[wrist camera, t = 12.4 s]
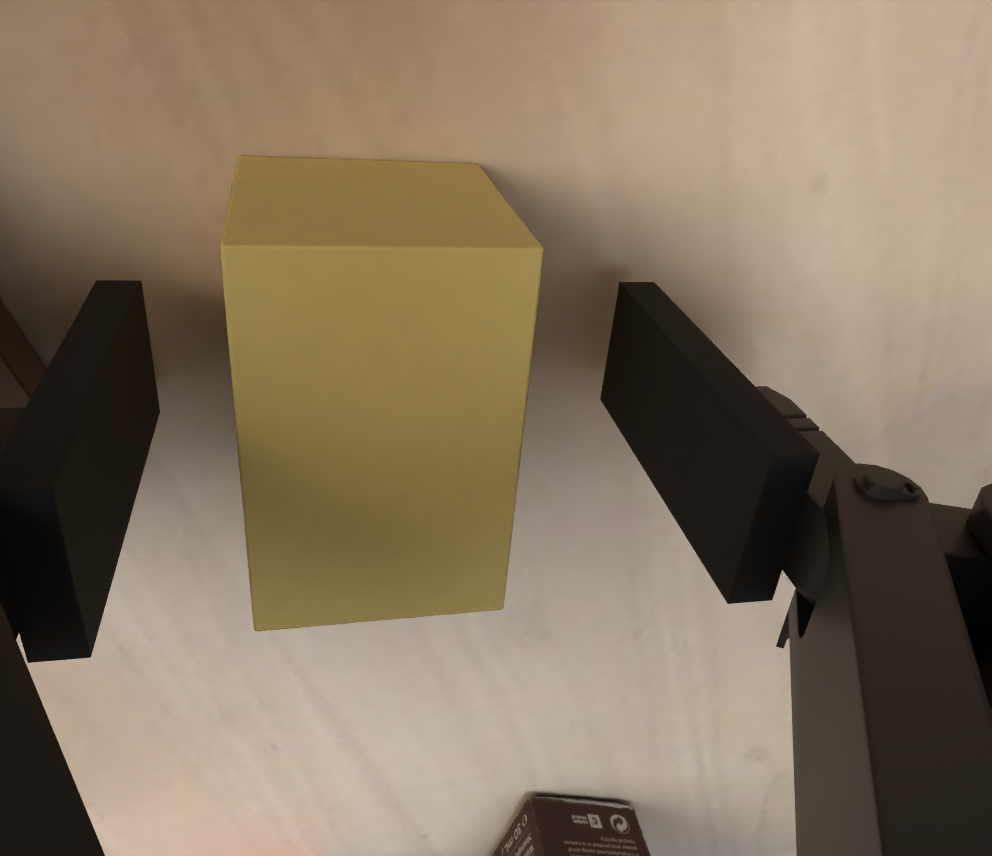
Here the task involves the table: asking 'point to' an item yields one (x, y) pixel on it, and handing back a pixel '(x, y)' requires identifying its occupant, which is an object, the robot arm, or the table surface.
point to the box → (573, 829)
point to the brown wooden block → (16, 365)
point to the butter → (376, 384)
